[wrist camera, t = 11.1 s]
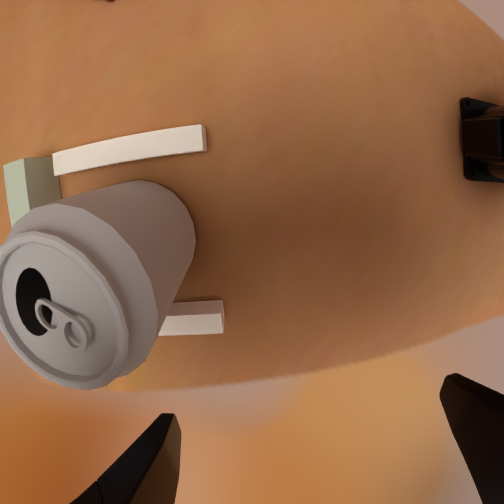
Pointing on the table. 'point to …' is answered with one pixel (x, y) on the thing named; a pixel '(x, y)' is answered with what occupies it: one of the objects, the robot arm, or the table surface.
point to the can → (93, 281)
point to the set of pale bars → (104, 154)
